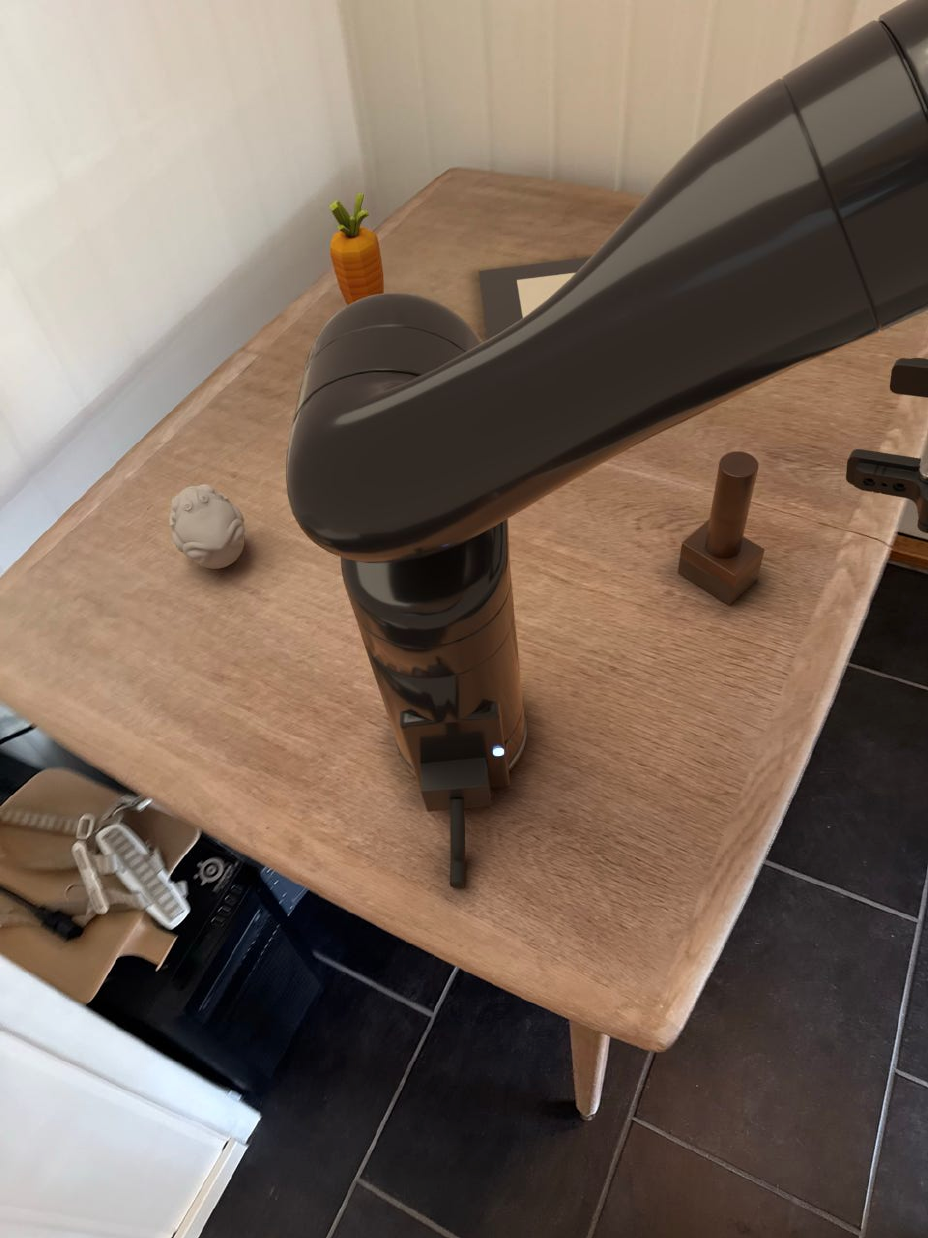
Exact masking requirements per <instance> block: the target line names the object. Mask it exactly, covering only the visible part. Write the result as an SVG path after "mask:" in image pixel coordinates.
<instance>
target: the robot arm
mask: <svg viewBox="0 0 928 1238" xmlns="http://www.w3.org/2000/svg"><path fill="white" fill-rule="evenodd" d="M589 257H590V258H589V259H588V260H587V262H586V263H585V264H584V265H583V266H582V267H581V268H580V269H579V270H578V271H577V272H576V273H575V274H574V275H573V276H572V277H571V278H570V279H569V280H568V281H567V282H566V283H565V284H564V285H563V286H562V287H560V288H559V289H558V290H557V291H556V292H555V293H554V294H553V295H552V296H551V297H550V298H548V299H547V300H546V301H545V302H543V303H542V304H541V305H540V306H538V307H537V308H536V309H534V310H533V311H532V312H530V313H529V314H528V315H526V316H525V317H524V318H522V319H521V320H519V321H518V322H516V323H515V324H513V325H511V326H510V327H508V328H507V329H505V330H504V331H502V332H501V333H499V334H497V335H495V336H494V337H492V338H490V339H488V340H486V339H485V341H483V340H482V339H481V338H480V336H479V335H478V333H477V332H476V331H475V330H474V329H473V328H472V326H471V325H470V324H469V323H468V322H467V321H466V320H465V319H464V318H462V317H461V316H460V315H458V314H457V313H456V311H453V310H452V309H450V308H449V307H447V306H445V305H444V304H442V303H440V302H438V301H435V300H433V299H431V298H428V297H424V296H422V295H417V294H412V293H405V292H384V293H383V294H376V295H372V296H368V297H365V298H362V299H360V300H357V301H355V302H353V303H351V304H349V305H346V306H345V307H343V308H342V309H340V310H339V311H338V312H336V313H335V314H334V315H333V316H331V317H330V318H329V320H327V322H326V323H325V324H324V325H323V326H322V327H321V329H320V330H319V332H318V333H317V335H316V336H315V338H314V340H313V342H312V345H311V347H310V349H309V351H308V355H307V357H306V361H305V365H304V370H303V374H302V378H301V382H300V388H299V391H298V395H297V401H296V405H295V409H294V414H293V418H292V424H291V426H290V427H291V428H290V432H289V433H290V434H289V440H288V445H287V450H286V451H287V452H286V457H285V458H286V460H285V482H286V493H287V494H286V495H287V499H288V503H289V507H290V510H291V513H292V515H293V517H294V520H295V521H296V523H297V524H298V526H299V528H300V530H301V531H302V532H303V534H304V535H306V537H307V538H308V539H309V540H310V541H311V542H313V543H314V544H315V545H317V546H318V547H319V548H320V549H322V550H324V551H326V552H327V553H330V554H332V555H334V556H338V557H340V568H341V575H342V579H343V585H344V587H345V590H346V591H345V592H346V594H347V596H348V600H349V603H350V605H351V609H352V612H353V614H354V617H355V620H356V623H357V626H358V629H359V632H360V637H361V639H362V642H363V645H364V648H365V651H366V654H367V657H368V660H369V664H370V666H371V670H372V672H373V675H374V678H375V681H376V684H377V687H378V690H379V694H380V696H381V699H382V702H383V705H384V708H385V712H386V714H387V717H388V720H389V723H390V726H391V729H392V731H393V734H394V738H395V744H396V747H397V752H398V754H399V757H400V758H401V761H402V763H403V765H404V766H405V768H406V770H407V771H408V772H409V773H410V774H411V775H412V776H413V777H414V778H415V779H416V782H417V785H418V788H419V791H420V794H421V796H422V799H423V802H424V805H425V809H426V811H427V812H428V813H429V812H430V813H431V812H440V811H441V812H442V811H449V837H450V838H449V842H450V843H449V844H450V845H449V848H450V850H449V851H450V852H449V853H450V859H449V860H450V861H449V862H450V863H449V886H450V888H451V887H452V888H456V889H460V888H464V887H465V885H466V883H465V881H466V876H465V875H466V818H465V817H466V813H465V810H466V809H472V808H482V807H483V808H484V807H491V806H492V796H491V795H492V793H491V789H498V788H507V787H509V786H510V783H511V781H510V771H511V770H512V769H513V768H514V767H515V766H516V765H517V763H518V761H520V758H521V756H522V755H523V752H524V750H525V747H526V742H527V736H528V726H527V718H526V713H525V710H524V708H525V707H524V698H523V689H522V679H521V668H520V657H519V647H518V637H517V628H516V616H515V605H514V604H515V602H514V593H513V582H512V573H511V561H510V558H511V557H510V534H509V533H510V532H509V530H510V529H509V519H510V518H511V517H513V516H515V515H517V514H519V513H520V512H522V511H523V510H525V509H526V508H529V507H530V506H532V505H533V504H535V503H537V502H539V501H540V500H542V499H544V498H546V497H547V496H549V495H551V494H553V493H554V492H556V491H558V490H559V489H561V488H563V487H564V486H566V485H568V484H569V483H571V482H572V481H575V480H576V479H578V478H579V477H582V476H583V475H585V474H586V473H588V472H590V471H592V470H594V469H595V468H597V467H599V466H600V465H602V464H604V463H605V462H608V461H610V460H611V459H613V458H615V457H616V456H618V455H620V454H622V453H624V452H625V451H627V450H630V449H632V448H633V447H635V446H637V445H639V444H642V443H643V442H645V441H647V440H649V439H651V438H653V437H655V436H657V435H660V434H662V433H664V432H666V431H667V430H669V429H672V428H674V427H677V426H678V425H680V424H683V423H684V422H687V421H688V420H691V419H693V418H694V417H696V416H698V415H701V414H702V413H705V412H707V411H708V410H711V409H713V408H715V407H717V406H719V405H721V404H723V403H726V402H727V401H729V400H731V399H733V398H735V397H737V396H739V395H741V394H743V393H745V392H748V391H750V390H752V389H754V388H755V387H759V386H761V385H762V384H764V383H766V382H768V381H770V380H773V379H774V378H776V377H779V376H781V375H783V374H784V373H786V372H789V371H790V370H793V369H795V368H797V367H800V366H801V365H803V364H806V363H808V362H811V361H813V360H815V359H817V358H820V357H822V356H825V355H827V354H829V353H832V352H834V351H837V350H841V349H842V348H844V347H847V346H849V345H852V344H854V343H857V342H860V341H862V340H864V339H867V338H869V337H872V336H874V335H876V334H878V333H879V332H882V331H883V332H884V331H885V330H887V329H889V328H892V327H894V326H896V325H899V324H901V323H903V322H905V321H907V320H909V319H911V318H913V317H915V316H918V315H921V314H922V313H925V312H926V311H928V0H905V1H903V2H901V3H899V4H898V5H896V6H894V7H893V8H891V9H889V10H887V11H885V12H884V13H882V14H880V15H879V16H878V18H877V20H870V21H869V22H868V23H866V24H864V25H862V26H861V27H859V28H858V29H856V30H854V31H853V32H851V33H849V34H848V35H846V36H845V37H843V38H842V39H840V40H838V41H837V42H835V43H834V44H832V45H830V46H829V47H827V48H826V49H824V50H823V51H821V52H819V53H818V54H816V55H814V56H812V57H811V58H810V59H808V60H806V61H804V62H802V64H800V65H798V66H796V67H795V68H794V69H792V70H790V71H788V72H786V73H785V74H783V75H782V76H781V78H776V79H775V80H774V81H773V82H771V83H770V84H767V86H765V87H764V88H762V89H761V90H759V91H757V93H755V94H754V95H752V96H751V97H749V98H748V99H747V100H745V101H743V102H742V103H741V104H740V105H738V106H737V107H736V108H735V109H734V110H732V111H731V112H729V113H728V114H727V115H725V116H724V117H723V118H722V119H720V121H718V122H717V123H716V124H715V125H714V126H713V127H711V128H710V129H709V130H708V131H707V132H706V133H705V134H704V135H703V136H702V137H701V138H699V139H698V140H697V141H696V142H695V143H694V144H693V145H692V146H691V147H690V148H688V150H687V151H686V152H685V153H684V154H683V155H682V156H681V157H680V158H679V159H678V160H677V161H676V163H674V164H673V166H672V167H671V168H670V169H669V170H668V171H667V172H666V173H665V174H664V175H663V176H662V177H661V179H659V181H658V182H656V184H655V185H654V186H653V187H652V188H651V189H650V191H649V192H648V193H647V194H646V195H645V196H644V197H643V198H642V200H640V201H639V203H638V204H637V205H636V206H635V207H634V208H633V209H632V211H631V212H630V213H629V214H628V216H627V217H626V218H625V219H624V220H623V221H622V222H621V223H620V225H619V226H618V227H617V228H616V229H615V230H614V231H613V232H612V233H611V235H609V236H608V237H607V239H606V240H605V241H604V242H603V243H602V244H601V245H600V246H599V248H598V249H597V250H596V251H595V252H594V253H593V254H592V255H591V256H589ZM889 381H890V382H889V390H890V391H891V393H893V394H895V395H902V396H910V397H918V398H926V399H927V398H928V358H924V357H912V358H909V357H908V358H906V357H900V358H898V359H896V360H895V362H894V364H893V366H892V369H891V373H890V380H889ZM845 480H846V482H847V483H848V484H850V485H851V486H853V487H854V488H856V489H858V490H860V491H863V492H869V493H874V494H881V495H886V496H892V497H897V498H904V499H908V500H910V501H912V502H913V503H914V504H915V505H916V510H917V511H916V512H917V525H916V527H917V529H918V530H919V531H920V532H922V533H925V534H928V462H924V463H923V464H922V458H920V457H914V456H908V455H901V454H893V453H888V452H882V451H877V450H876V451H875V450H868V449H862V448H855V449H853V450H852V451H851V453H850V454H849V457H848V459H847V461H846V472H845Z"/></svg>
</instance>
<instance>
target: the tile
mask: <svg viewBox="0 0 928 1238" xmlns="http://www.w3.org/2000/svg"><path fill="white" fill-rule="evenodd" d="M590 257H591V256H586V257H579V258H571V259H564V260H555V261H547V262H539V263H531V264H523V265H515V266H506V267H497V268H491V269H482V270H478V279H479V287H480V296H481V305H482V314H483V322H484V323H483V324H484V330H485V341H486V340H488V339H490V338H492V337H494V336H495V335H497V334H499V333H501V332H502V331H504V330H505V329H507V328H508V327H510V326H511V325H513V324H515V323H516V322H518V321H519V320H521V319H522V318H524V317H525V316H526V315H528V314H529V313H530V312H532V311H533V310H534V309H536V308H537V307H538V306H540V305H541V304H542V303H543V302H545V301H546V300H547V299H548V298H550V297H551V296H552V295H553V294H554V293H555V292H556V291H557V290H558V289H559V288H560V287H562V286H563V285H564V284H565V283H566V282H567V281H568V280H569V279H570V278H571V277H572V276H573V275H574V274H575V273H576V272H577V271H578V270H579V269H580V268H581V267H582V266H583V265H584V264H585V263H586V262H587V260H588V259H589V258H590Z"/></svg>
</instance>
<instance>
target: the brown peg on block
mask: <svg viewBox="0 0 928 1238" xmlns="http://www.w3.org/2000/svg"><path fill="white" fill-rule="evenodd" d="M758 472H759V461H758V459H757V458H756V457H755V456H754V455H752V454H751V453H749V452H746V451H738V450H736V451H735V450H734V451H730V452H727V453H725V454H724V455H723V456H721V458H720V460H719V462H718V468H717V474H716V478H715V479H716V480H715V485H714V492H713V496H712V497H713V498H712V503H711V508H710V514H709V518H708V519H707V520H706V521H704V523H703V524H701V525H700V526H699V527H698V528H697V529H696V530H695V531H694V532H692V533H691V534H690V535H689V536H687V538H686V539H684V540H683V541H682V542H681V547H680V554H679V560H678V567H677V574H679V575H680V576H681V577H684V578H685V579H686V580H689V581H690V582H691V583H693V584H695V585H696V586H697V587H699V588H701V589H703V591H705V592H706V593H709V594H710V595H712V596H713V597H715V598H716V599H718V600H720V601H721V602H722V603H724V604H726V605H727V606H730V605H732V604H733V603H734V602H735V601H736V600H737V599H738V598H739V597H740V596H741V595H742V594H743V593H745V591H746V590H748V589H749V588H750V587H751V586H752V585H753V584H754V583H755V582H757V580H758V578H759V574H760V570H761V566H762V561H763V557H764V554H765V548H764V547H762V546H760V545H759V544H757V543H756V542H754V541H752V540H750V539H749V538H746V537H745V536H744V535H745V531H746V525H747V522H748V518H749V517H748V516H749V513H750V508H751V502H752V498H753V494H754V489H755V485H756V480H757V476H758Z"/></svg>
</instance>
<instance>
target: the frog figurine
mask: <svg viewBox="0 0 928 1238" xmlns="http://www.w3.org/2000/svg"><path fill="white" fill-rule="evenodd" d="M171 507H172V508H171V511H170V514H169V526H170V527H171V530H172V532H171V539H172V542H173V544H174V546H175V547H176V548H177V550H178V551H179V552H180V553H182V554H184V555H185V556H186V557H187V558H188V559H191V560H192V562H194V563H195V564H197V565H198V566H201V567H203V568H205V569H211V570H212V569H213V570H216V569H217V570H218V569H223V568H226V567H228V566H230V565H231V564H233V563H234V562H235V561H237V559H239V557H240V555H241V554H242V552H243V550H244V546H245V536H246V535H245V533H246V527H245V518H244V515H243V513H242V511H241V509H239V507H238V506H237V505H235V504H233V503H231V501H230V499H229V497H228V496H226V495H225V494H223V493H222V492H219V491H217V490H215V489H214V488H213V487H212V486H211V485H209V484H207V483H203V484H200V485H192V486H188V487H185V488H184V489H182V490H181V491H179V493H178V494H177V495H176V496H174V497H173V498H172V499H171Z"/></svg>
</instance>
